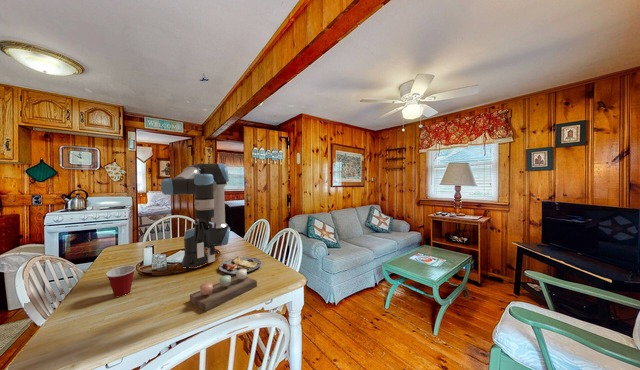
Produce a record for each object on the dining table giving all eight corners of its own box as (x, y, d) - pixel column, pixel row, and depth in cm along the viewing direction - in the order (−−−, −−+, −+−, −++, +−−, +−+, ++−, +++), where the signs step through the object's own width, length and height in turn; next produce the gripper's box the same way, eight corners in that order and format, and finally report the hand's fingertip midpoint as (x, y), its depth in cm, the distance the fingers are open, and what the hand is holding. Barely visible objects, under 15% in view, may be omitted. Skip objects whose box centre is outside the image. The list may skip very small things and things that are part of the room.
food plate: (210, 270, 133) (210, 264, 133) (240, 258, 153) (241, 253, 153) (240, 280, 121) (240, 274, 121) (268, 265, 142) (269, 260, 142)
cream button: (234, 277, 113) (234, 271, 113) (242, 273, 117) (242, 268, 117) (240, 280, 110) (240, 274, 110) (248, 276, 114) (248, 270, 114)
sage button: (217, 284, 106) (217, 278, 105) (227, 280, 110) (227, 274, 110) (223, 287, 103) (223, 281, 103) (233, 283, 107) (232, 277, 107)
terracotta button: (198, 292, 98) (197, 285, 98) (209, 287, 102) (209, 281, 102) (203, 296, 95) (203, 289, 95) (215, 291, 99) (214, 284, 99)
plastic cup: (102, 303, 99) (101, 276, 98) (111, 291, 108) (110, 267, 108) (133, 296, 104) (132, 271, 103) (139, 286, 113) (138, 263, 113)
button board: (190, 301, 100) (189, 294, 100) (240, 279, 121) (240, 273, 121) (205, 312, 92) (205, 305, 92) (256, 286, 113) (256, 280, 113)
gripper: (184, 208, 101) (185, 256, 102) (208, 212, 88) (210, 267, 89) (201, 206, 107) (202, 252, 108) (226, 209, 94) (227, 262, 95)
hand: (205, 259), depth 98 cm, fingers open, 9 cm apart
